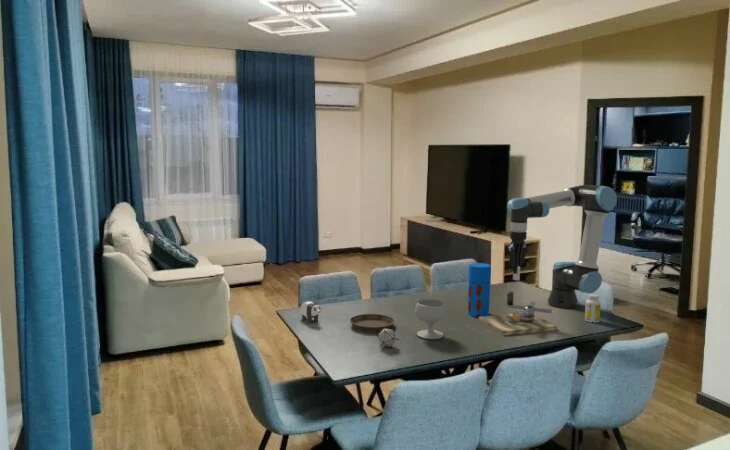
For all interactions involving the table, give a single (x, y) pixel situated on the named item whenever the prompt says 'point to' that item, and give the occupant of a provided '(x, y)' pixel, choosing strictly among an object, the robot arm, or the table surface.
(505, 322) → the stand base
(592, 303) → the supplement bottle
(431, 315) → the chalice
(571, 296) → the robot arm
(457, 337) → the table surface
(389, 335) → the game die
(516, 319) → the ball
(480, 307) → the thermos
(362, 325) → the plant saucer
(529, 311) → the grey cross
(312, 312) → the giant panda
